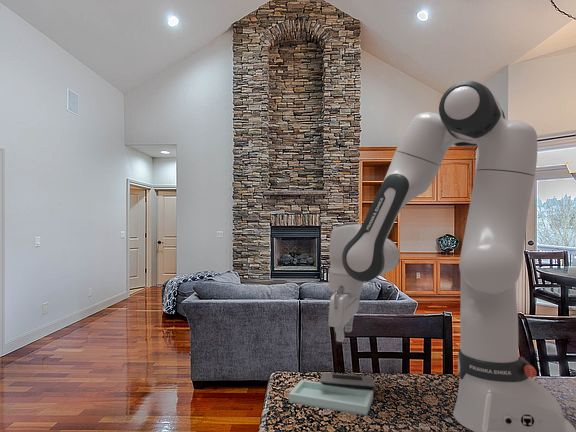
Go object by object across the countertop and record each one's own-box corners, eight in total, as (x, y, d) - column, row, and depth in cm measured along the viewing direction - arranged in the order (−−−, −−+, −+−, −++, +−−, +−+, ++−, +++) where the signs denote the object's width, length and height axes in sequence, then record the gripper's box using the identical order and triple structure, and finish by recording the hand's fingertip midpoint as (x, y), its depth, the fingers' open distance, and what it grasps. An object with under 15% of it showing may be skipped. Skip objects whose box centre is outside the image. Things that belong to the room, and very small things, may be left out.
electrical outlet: (371, 384, 104) (371, 375, 104) (375, 394, 94) (375, 384, 94) (321, 380, 105) (322, 371, 106) (320, 389, 95) (321, 379, 96)
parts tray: (373, 398, 94) (373, 390, 94) (366, 416, 86) (366, 406, 86) (301, 387, 101) (301, 379, 101) (288, 402, 92) (288, 393, 92)
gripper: (348, 291, 93) (347, 349, 93) (363, 279, 112) (363, 327, 112) (322, 289, 96) (321, 345, 96) (342, 278, 115) (341, 325, 115)
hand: (344, 336), depth 104 cm, fingers open, 8 cm apart
